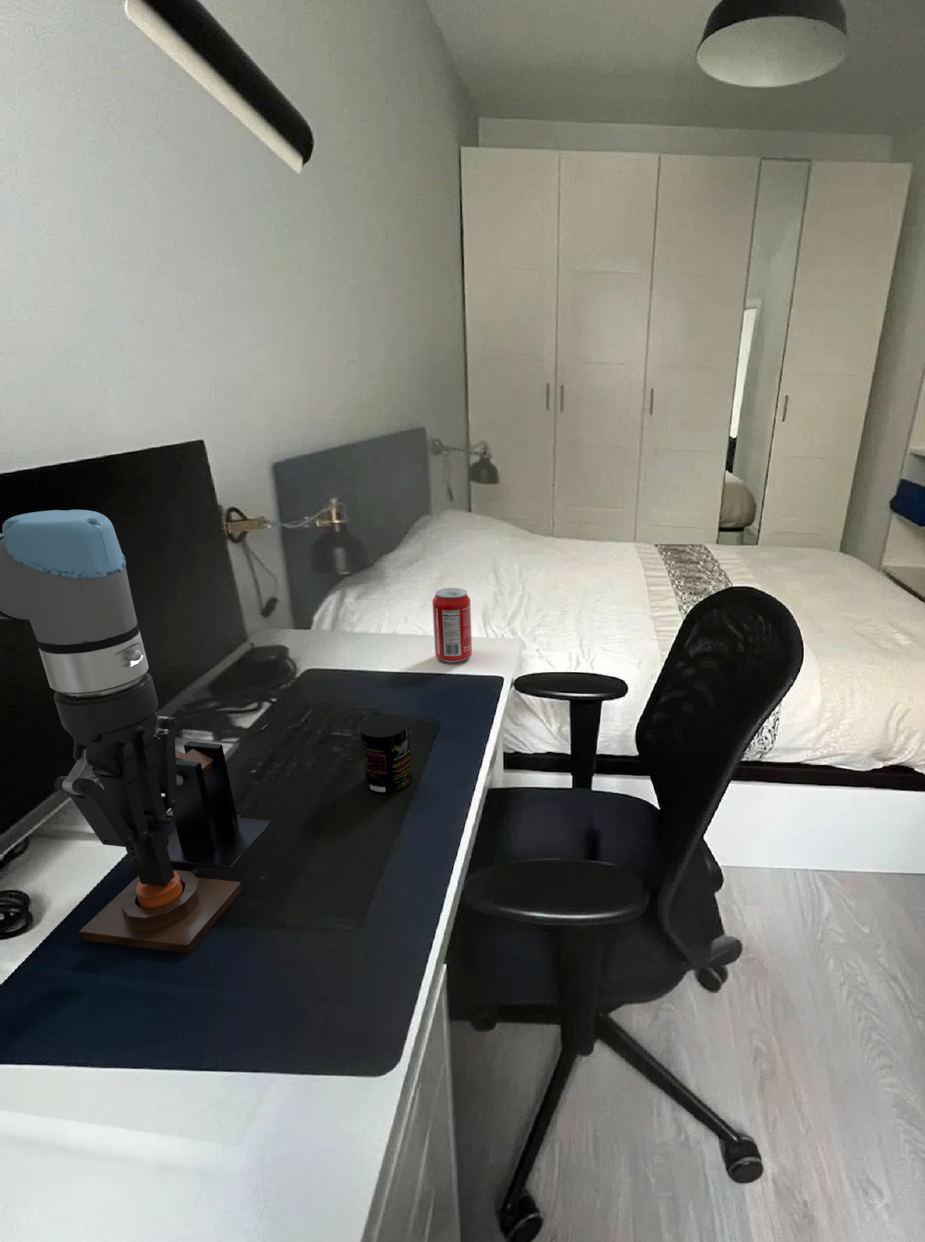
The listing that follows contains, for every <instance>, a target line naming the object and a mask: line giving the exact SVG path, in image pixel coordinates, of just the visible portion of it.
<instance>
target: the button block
mask: <svg viewBox="0 0 925 1242" xmlns="http://www.w3.org/2000/svg"><path fill="white" fill-rule="evenodd" d="M173 871H175V872H177V873H178V874H179V876H180V880H181V884H182V888H183V890H182V893H181V895H180V896H179V897H178V898H177V899H176V900H174V901H172V902H171V903H169V904H167V905H165V906H162V907H158V908H154V909H145V908H143V907H141V906H140V904H139V901H138V898H137V894H136V887H137V885H138V883H139V882H140V879H139V875H138V876H136V878H135V879H133V880H132V881H131V882H130V883H129V884H128V885H127V886H126V887H124V889H123V890H122V891H120V892H119V894H117V895H116V896H115V897H114V898H113V899H112V900H111V901H110V902H109V903H107V905H105V907H104V908H102V909H101V910H100V911H99V912H98V913H97V914H96V915H95V916H94V917H93V918H92V919H90V921H88V922H87V923H86V925H84V926H83V927H82V928H81V929H80V930H79V931H78V933H79V936H80V939H81V941H88V942H95V943H102V944H103V943H104V944H113V945H118V946H119V945H120V946H127V947H128V946H129V947H135V948H144V949H150V950H159V951H167V952H168V951H169V952H175V953H184V954H191V953H192V952H193V950H194V949H195V948H196V946H198V944H199V943H200V942H201V941H202V940H203V938H204V937H205V936H206V935H207V934H208V932H209V931H210V930H211V929H212V927H213V926H214V925H215V924H216V923H217V921H219V919H220V918H221V916H222V915H223V914H224V913H225V912H226V911H227V909H228V908H229V907H230V906H231V904H233V902H234V901H235V900H236V898H237V897H238V896H239V895H240V894H241V893H242V891H243V887H242V882H241V881H232V880H225V879H224V880H223V879H217V878H216V879H214V878H207V877H206V878H205V877H198V876H195V874H193V873H192V872H191V871H189V870H179V869H173Z"/></svg>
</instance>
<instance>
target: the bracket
mask: <svg viewBox="0 0 925 1242" xmlns="http://www.w3.org/2000/svg"><path fill="white" fill-rule="evenodd" d="M223 746H224V745H223V744H221V743H212V742H202V741H192V740H191V741H190V740H188V741H187V742H185V744H183V749H184V754H187V753H188V752H189V751H191V750H192V749H194V750H196V751H198V752H200V753H202V754H204V755H206V756H208V757H210V758H212V759H213V763H212V765H211V768H210V771H209V774H207V775H206V776H205V777H204V775H203V771H202V766H201V762H196V761H186V760H176V778H177V805H176V807H175V808H173V809H170V810H171V812H172V816H174V818H173V821H174V825H175V830H174V831H173V832H172V833H171V834H169V835H167V836H168V839H169V845H168V846H167V850H168V853H169V857H170V861H171V863H179V864H185V865H187V864H188V865H195V866H203V867H213V868H222V869H231V868H232V867H233V866H234V865H236V863H237V862H238V861H239V860H240V858H241V857H242V856H243V855H244V854H245V853H246V852H247V850H248V849H249V848H250V847H251V846H252V845H253V844H254V842H255V841H256V840H257V839H258V838H259V837H260V836H261V835H262V834H263V833H264V831H265V830H266V829H267V828H268V827H269V826H270V825H271V823H272V820H265V819H256V818H245V817H238V816H237V811H236V806H235V802H234V797H233V791H232V786H231V782H230V776H229V771H228V766H227V762H226V757H225V752H224V747H223Z"/></svg>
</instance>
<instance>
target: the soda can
mask: <svg viewBox="0 0 925 1242" xmlns="http://www.w3.org/2000/svg"><path fill="white" fill-rule="evenodd" d="M434 593H435V594H434V597H433V598H432V604H431V605H432V621H433V623H432V624H433V638H434V642H433V643H434V654H435V658H437V659H438V660H440V661H442V662H444V663H448V664H456V662H457V663H461V661H462V662H464V661H466V660H468V659H469V658H471V656H472V654H473V643H472V642H473V639H472V610H471V609H472V607H471V598H470V597H469V595H468V594H467V593H468V592H467V590H465V589H463V588H459V587H445V588H444V587H443V588H440V589H438V590H436V591H435V592H434Z"/></svg>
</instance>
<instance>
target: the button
mask: <svg viewBox="0 0 925 1242" xmlns="http://www.w3.org/2000/svg"><path fill="white" fill-rule="evenodd" d="M173 872H174V876H175V877H174V878H173V879H172V880H171V881H170V882H169V883H168V884H167V885H166V886H165V887H164V886H155V885H147V884H141V882H139V883H138V885H137V887H136V894H137V898H138V901H139V904H140V906H141V907H143V908H145V909H154V908H158V907H162V906H165V905H167V904H169V903H171V902H172V901H174V900H176V899H177V898H178V897H179V896H180V895H181V893H182V890H183V888H182V884H181V880H180V876H179V874H178V873H177V872H175V871H173Z"/></svg>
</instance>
